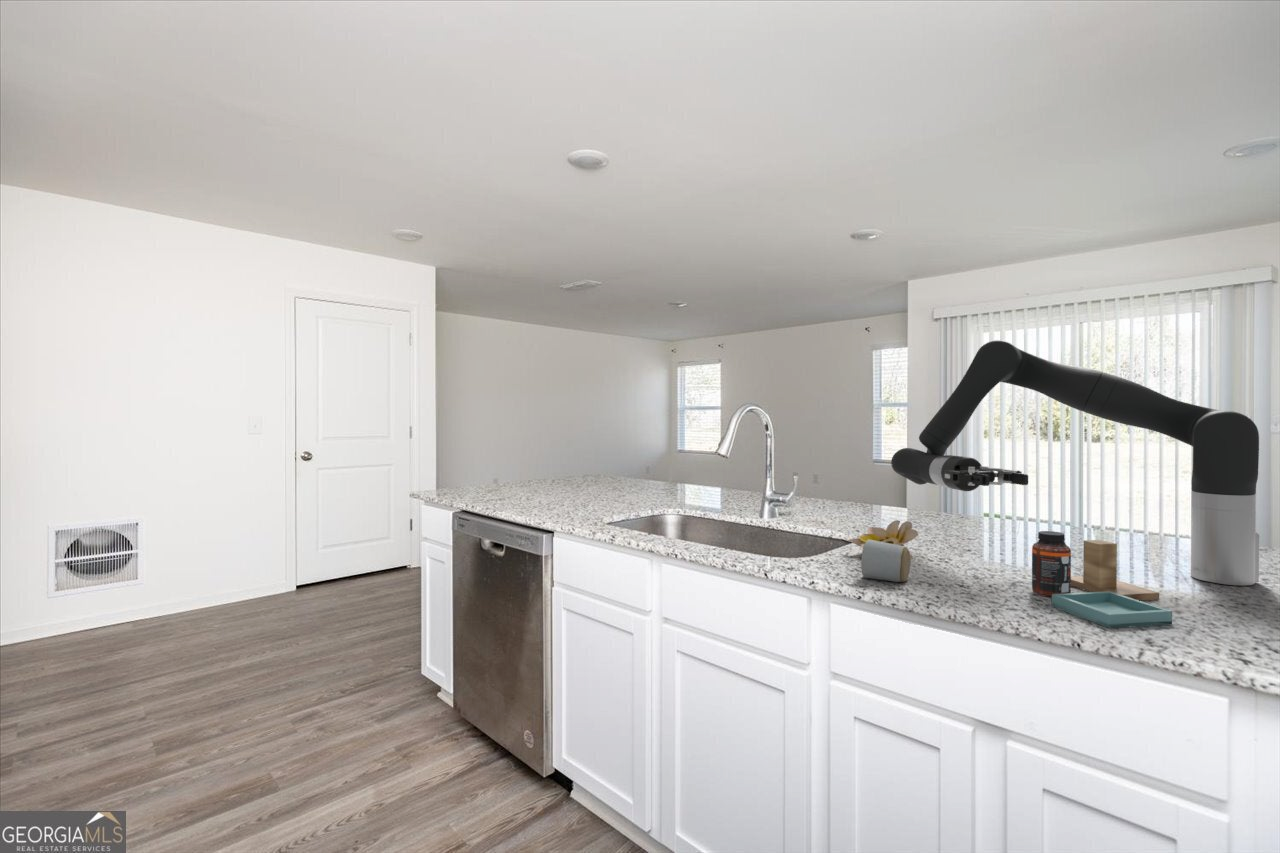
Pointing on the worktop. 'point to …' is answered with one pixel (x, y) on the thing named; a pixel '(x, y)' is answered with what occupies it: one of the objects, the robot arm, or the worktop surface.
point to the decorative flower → (888, 534)
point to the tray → (1111, 609)
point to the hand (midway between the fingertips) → (1007, 480)
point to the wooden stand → (1106, 572)
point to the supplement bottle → (1051, 564)
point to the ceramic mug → (885, 561)
